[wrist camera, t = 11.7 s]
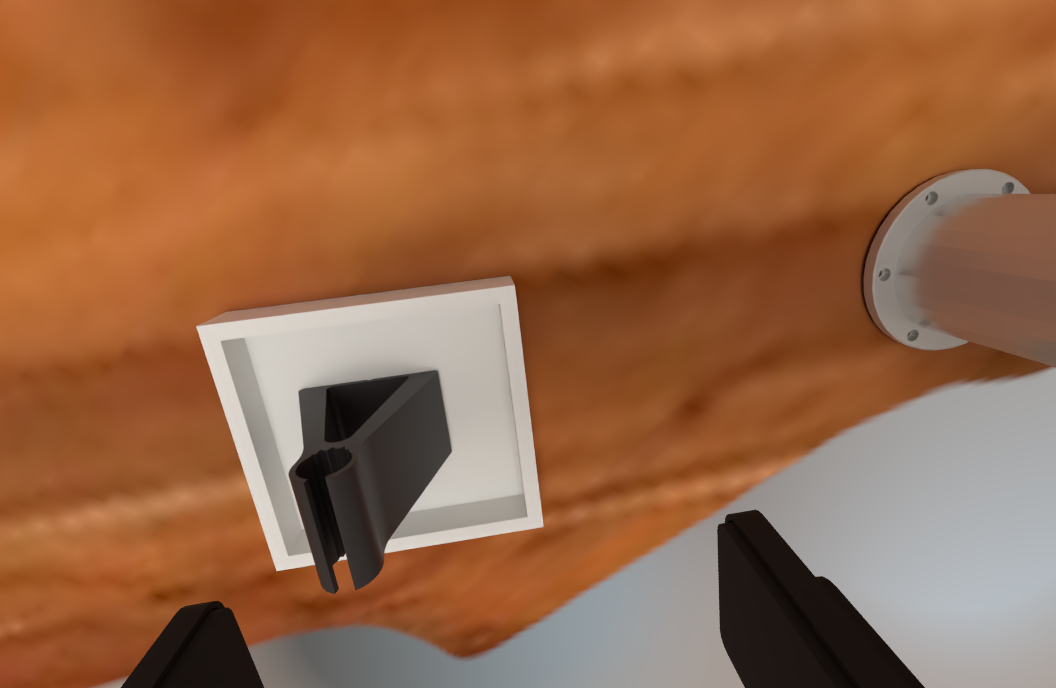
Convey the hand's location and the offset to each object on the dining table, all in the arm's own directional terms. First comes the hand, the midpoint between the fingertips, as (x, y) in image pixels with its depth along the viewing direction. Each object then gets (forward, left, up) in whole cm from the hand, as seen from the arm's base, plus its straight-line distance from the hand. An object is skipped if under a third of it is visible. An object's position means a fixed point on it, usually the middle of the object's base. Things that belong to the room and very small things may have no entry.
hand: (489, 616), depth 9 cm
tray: (+6, +6, -24) cm, 26 cm away
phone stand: (+7, +6, -24) cm, 26 cm away
